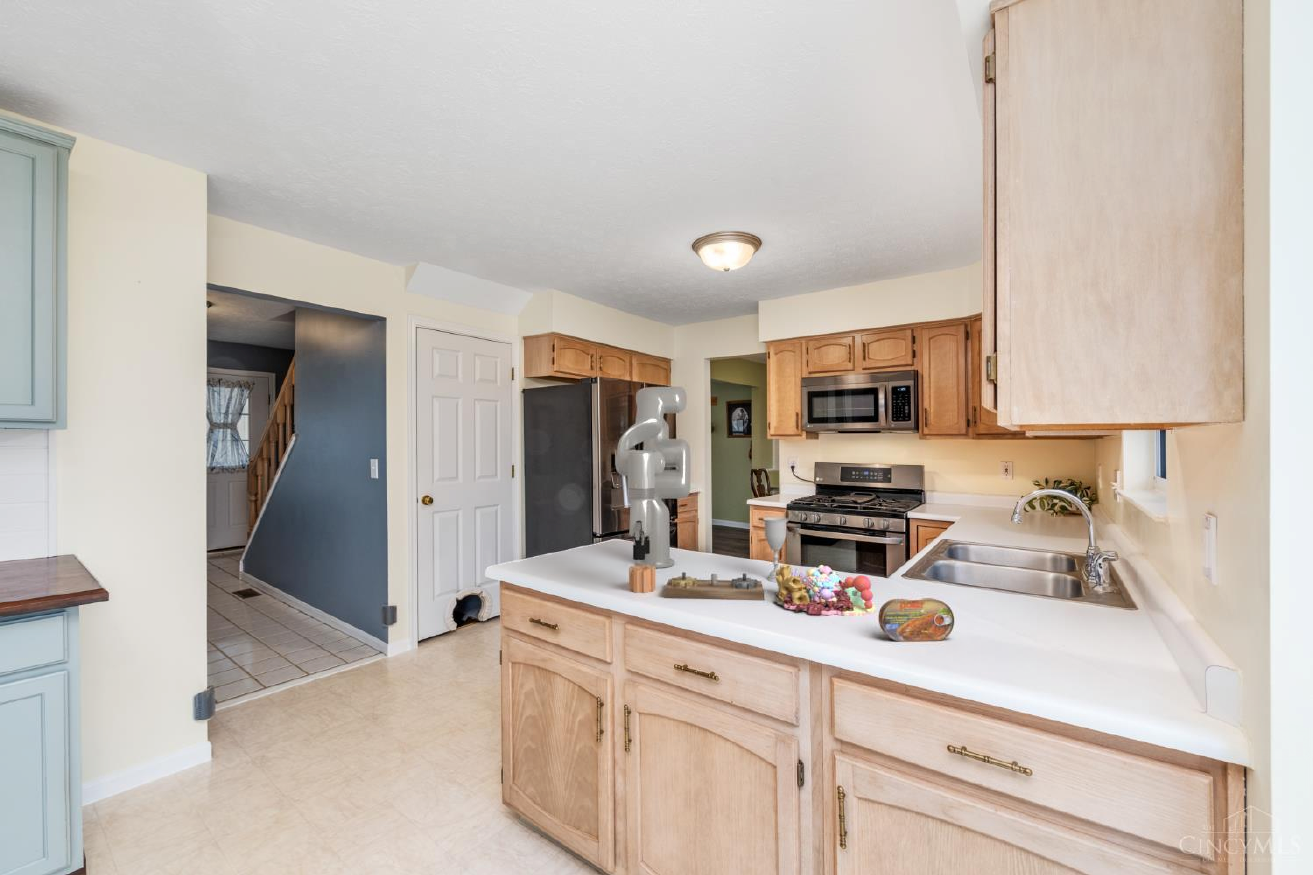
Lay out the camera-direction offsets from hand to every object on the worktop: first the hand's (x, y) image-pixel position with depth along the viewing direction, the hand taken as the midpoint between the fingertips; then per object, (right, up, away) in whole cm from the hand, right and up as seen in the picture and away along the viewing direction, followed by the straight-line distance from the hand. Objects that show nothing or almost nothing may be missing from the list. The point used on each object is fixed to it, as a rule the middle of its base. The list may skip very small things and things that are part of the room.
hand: (641, 556), depth 158 cm
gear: (0, -9, +1) cm, 9 cm away
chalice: (+39, -9, +10) cm, 42 cm away
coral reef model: (+46, -9, -13) cm, 49 cm away
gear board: (+20, -9, -4) cm, 22 cm away
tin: (+58, -9, -40) cm, 71 cm away
